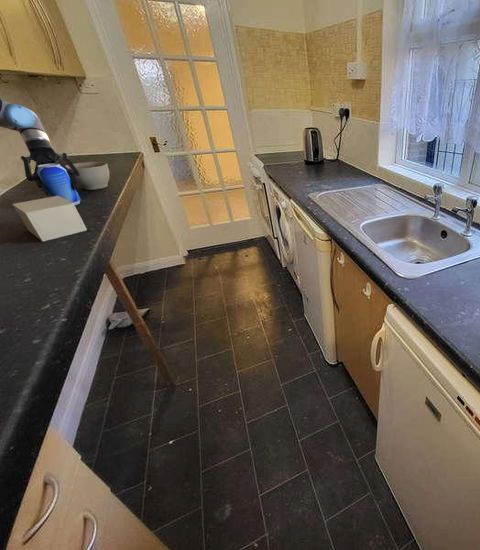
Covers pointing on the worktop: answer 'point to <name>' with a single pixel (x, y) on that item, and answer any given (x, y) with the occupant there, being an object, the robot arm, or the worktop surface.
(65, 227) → the white slanted wedge
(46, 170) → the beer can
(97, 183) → the planter bowl
